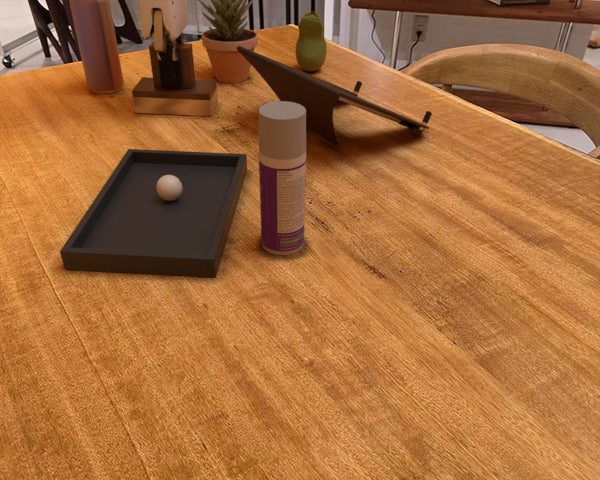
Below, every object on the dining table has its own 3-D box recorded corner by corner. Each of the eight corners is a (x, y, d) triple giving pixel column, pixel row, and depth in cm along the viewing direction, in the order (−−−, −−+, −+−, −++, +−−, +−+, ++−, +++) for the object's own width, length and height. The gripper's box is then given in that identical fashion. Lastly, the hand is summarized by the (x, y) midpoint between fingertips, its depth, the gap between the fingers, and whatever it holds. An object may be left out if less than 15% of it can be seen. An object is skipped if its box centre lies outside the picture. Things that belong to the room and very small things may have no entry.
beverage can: (98, 97, 97) (77, -3, 87) (82, 87, 100) (60, -10, 91) (131, 89, 100) (114, -9, 90) (114, 79, 103) (96, -16, 94)
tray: (64, 269, 60) (59, 251, 59) (131, 164, 79) (128, 148, 77) (215, 277, 60) (214, 259, 58) (247, 170, 78) (246, 153, 76)
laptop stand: (422, 179, 89) (450, 120, 86) (317, 150, 73) (347, 76, 69) (326, 128, 103) (347, 75, 100) (220, 94, 87) (241, 30, 83)
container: (255, 236, 66) (250, 104, 56) (294, 228, 67) (295, 97, 58) (270, 259, 62) (267, 122, 53) (310, 250, 64) (315, 115, 54)
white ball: (155, 204, 69) (151, 181, 67) (161, 192, 71) (158, 169, 70) (180, 206, 69) (177, 183, 67) (186, 193, 71) (183, 170, 69)
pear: (326, 66, 110) (329, 8, 104) (324, 76, 106) (326, 16, 100) (297, 65, 111) (297, 7, 105) (293, 74, 107) (294, 15, 100)
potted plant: (258, 67, 109) (253, -91, 94) (259, 86, 102) (254, -83, 86) (203, 68, 109) (190, -92, 93) (201, 86, 101) (186, -84, 86)
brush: (135, 112, 92) (124, 49, 86) (145, 98, 97) (136, 37, 90) (211, 116, 91) (206, 52, 85) (218, 102, 96) (213, 40, 90)
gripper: (147, -65, 86) (163, 64, 98) (113, -45, 74) (136, 100, 85) (198, -63, 86) (208, 66, 98) (172, -43, 73) (187, 103, 85)
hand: (174, 81), depth 91 cm, fingers closed on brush, 2 cm apart
